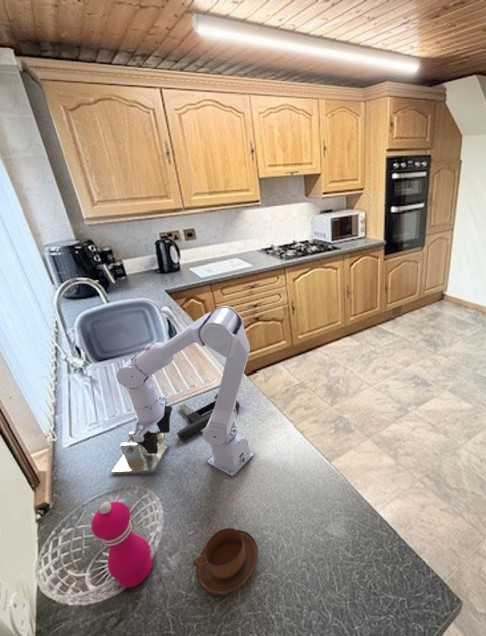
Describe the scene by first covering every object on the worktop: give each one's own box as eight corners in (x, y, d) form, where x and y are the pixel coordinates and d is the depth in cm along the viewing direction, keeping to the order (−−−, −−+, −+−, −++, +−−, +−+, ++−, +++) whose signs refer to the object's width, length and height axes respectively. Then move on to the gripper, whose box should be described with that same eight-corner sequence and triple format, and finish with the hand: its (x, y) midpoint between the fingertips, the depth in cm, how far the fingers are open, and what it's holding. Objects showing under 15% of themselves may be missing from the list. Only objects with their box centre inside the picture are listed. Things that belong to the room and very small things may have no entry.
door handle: (160, 413, 109) (181, 436, 98) (218, 384, 122) (242, 402, 111) (163, 421, 111) (184, 445, 100) (219, 392, 123) (244, 411, 112)
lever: (169, 435, 94) (163, 427, 92) (163, 445, 91) (157, 436, 90) (136, 443, 95) (130, 435, 94) (130, 453, 92) (124, 444, 91)
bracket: (168, 447, 100) (161, 425, 96) (153, 473, 92) (145, 450, 88) (130, 448, 100) (121, 426, 96) (112, 474, 92) (102, 451, 88)
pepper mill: (145, 544, 75) (116, 480, 66) (161, 567, 71) (133, 501, 62) (109, 573, 70) (73, 508, 61) (125, 599, 66) (88, 533, 57)
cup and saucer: (210, 614, 63) (203, 596, 60) (190, 559, 72) (183, 540, 69) (269, 570, 69) (265, 552, 66) (244, 524, 78) (240, 506, 75)
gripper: (144, 384, 93) (157, 423, 99) (113, 422, 80) (130, 464, 86) (170, 383, 93) (181, 422, 99) (143, 421, 80) (158, 463, 86)
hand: (159, 441), depth 93 cm, fingers open, 7 cm apart
